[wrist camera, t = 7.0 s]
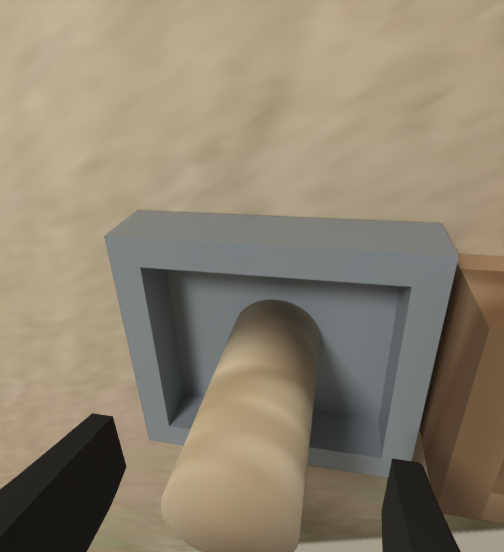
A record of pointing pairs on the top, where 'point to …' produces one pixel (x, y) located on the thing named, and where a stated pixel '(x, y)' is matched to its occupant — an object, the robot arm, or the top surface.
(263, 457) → the dowel
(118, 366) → the top surface
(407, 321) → the tray
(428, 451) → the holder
